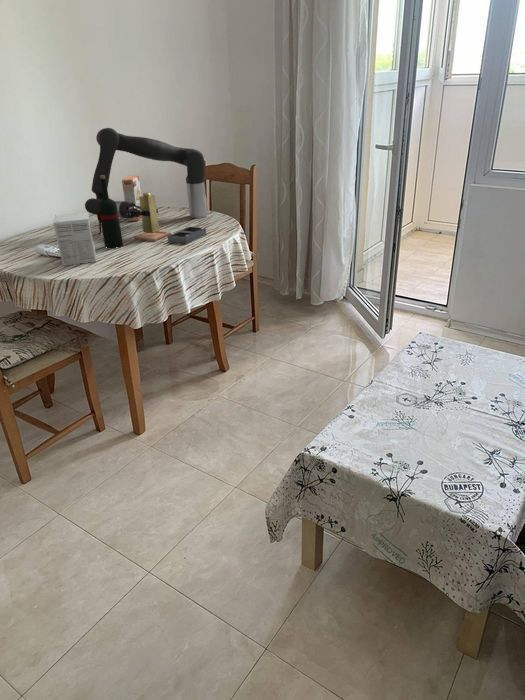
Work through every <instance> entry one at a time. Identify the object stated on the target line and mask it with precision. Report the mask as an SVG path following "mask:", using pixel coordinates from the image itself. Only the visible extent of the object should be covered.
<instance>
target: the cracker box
mask: <svg viewBox="0 0 525 700" xmlns="http://www.w3.org/2000/svg"><path fill="white" fill-rule="evenodd" d="M121 183H122V189H123V196H124V197H123V198H124V201H128V202H133V203H134V204H135V205H136V206H140V200H139V197H140V196H142V191H141V184H140V183H141V182H140V176H139V175H136V174H135V175H128V176H126V177H125V178H123V179H122V180H121ZM126 219H127V222H138V221H139V220H141V219H142V216H140V217H134V218H132V219H130V218H126Z"/></svg>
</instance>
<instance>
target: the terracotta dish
mask: <svg viewBox="0 0 525 700" xmlns="http://www.w3.org/2000/svg"><path fill="white" fill-rule="evenodd" d="M170 234H172V233H171V231H164V230H159V231H157V232H155V233H153V234H152V233H144V231H143V232H141V233H139V234H137V235H134V236H133V240H134V239H137V240H136V241H144V240H147V241H146V242H153V241H155V242H159V241H161V240H163V239H165V238H168V235H170ZM160 239H161V240H160ZM158 240H159V241H158ZM155 242H154V243H155Z"/></svg>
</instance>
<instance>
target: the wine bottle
mask: <svg viewBox="0 0 525 700" xmlns="http://www.w3.org/2000/svg"><path fill="white" fill-rule="evenodd" d="M100 181H101V187H102V193H103V199H102V200H101V201H100V203H99V205H98V208H99V212H97V215H96V216H97V221H98V226H99V233H98V237H99V236H101V233H102V236H103V243H104V248H106V247H107V248H106V249H109V248H113V249H117V248H116V247H119V248H122V247H124V241H123V236H122V230H121V224H120V217H118V211H117V205H116V203H115V202H114V201H115V200H114V199H112V198H110V195H109V192H108V188H107V184H106V178H105V175H101V176H100ZM121 246H122V247H121Z"/></svg>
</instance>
